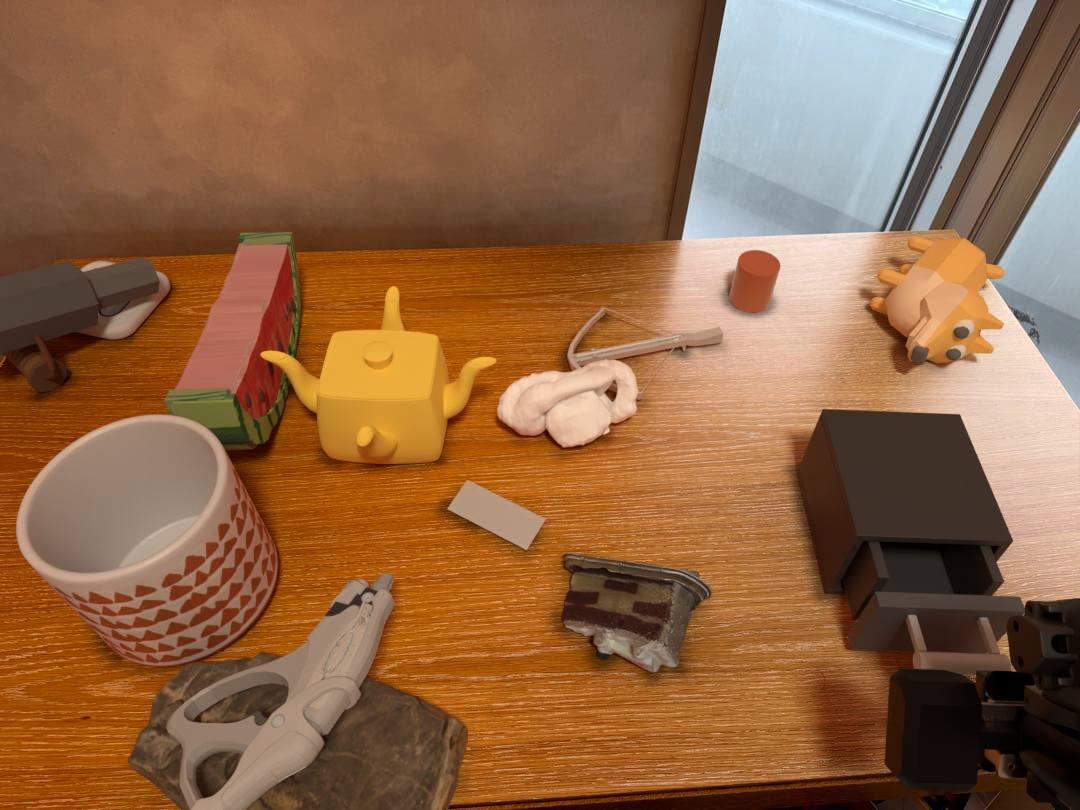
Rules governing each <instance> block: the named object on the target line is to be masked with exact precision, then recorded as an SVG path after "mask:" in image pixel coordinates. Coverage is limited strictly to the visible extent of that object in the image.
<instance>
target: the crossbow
mask: <svg viewBox="0 0 1080 810" xmlns="http://www.w3.org/2000/svg"><path fill="white" fill-rule="evenodd" d="M606 310H607V311H609V312H612V313H615V314H618V315H620V316H622V317H626V318H628V319H631V320H634V321H637V322H639V323H641V324H645V325H646V326H650V327H653V328H656V329H659V330H661V331H664V332H666V333H669V335H660V336H656V337H653V338H649V339H644V340H639V341H632V342H627V343H623V344H618V345H613V346H609V347H608V346H607V347H602V348H597V349H596V348H595V347H591V348H590V349H589V350H587V351H582V352H577V353H575V350H576V348H577V346H578V345H579V343H580V341H581V340H582V339H583V338H584V336H585V335H586V334H587V333H588V332H589V330H590V329H591V328H592V327H593V326H594V325H595V324H596V323H597V322H598V321H599V320H600V319H602V318H603V317H604V315H605V314H606ZM723 337H724V332H723V331H722V329H721V327H720V326H716V327H712V328H708V329H705V330H701V331H700V330H699V331H697V332H679V333H675V332H672V331H669V330H666V329H664V328H661V327H659V326H656V325H653V324H650V323H647V322H644V321H642V320H639V319H638V318H637V319H636V318H635V317H634V318H633V317H631V316H628V315H626V314H622V313H620V312H617V311H614V310H612V309H610V308H606V306H602V307H601V308H600V309H599V311H598V312H597V313H595V314H594V315H593V316H592V317H591V318H590V319H589V320H588V321H587V322H586V323H585V325H583V327H582V328H581V329H580V330H579V331H578V332H577V334H576V336H575V337H574V338H573V340H572V341H571V342H570V344H569V348H568V350H567V355H566V356H567V357H566V358H567V360H566V361H567V362H568V364H569V368H570V370H571V371H574V370H576V369H579V368H582V367H584V366H585V365H587V364H589V363H591V362H595V361H600V360H605V359H607V360H619V359H623V358H628V357H633V356H639V355H643V354H648V353H653V352H659V351H663V350H669V349H671V350H670V352H669V353H668V354H667V356H665V359H663V361H662V362H661V364H660V365H659V367H658V368H657V369H656V371H655V372H654V373H653V375H652V376H651V377H650V379H649V380H648V382H647V383H646V385H645V386H644V387H643V388H642V390H641V391H639V390H638V396H637V398H636V400H637V401H639V400H643V399H644V393H643V392H644V390H645V389H646V388H647V387H648V385H649V384H650V382H651V381H652V380H653V379H654V377H655V375H656V374H657V372H659V370H660V368H662V367H663V364H664V363H665V362H666V361H667V359H668V357H670V355H671V353H672V352H673V351H674V349H675V348H676V349H678V348H680V347H681V349H682V352H686V349H687V346H692V347H694V346H695V347H698V346H706V345H707V346H708V345H714V344H722V343H723ZM607 390H609V391H612V392H614V393H617V383H614V382H612V384H611V385H610V386H609V388H608V389H607Z"/></svg>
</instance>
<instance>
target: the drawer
mask: <svg viewBox="0 0 1080 810" xmlns="http://www.w3.org/2000/svg"><path fill="white" fill-rule="evenodd" d="M842 581H843V585H844V589H845V593H846V594H845V597H846V601H847V605H848V610H849V613H850V617H851V620H854V621H855V622H854V624H853V625H852V627H851V629H850V631H849V632H848V633H847V637H846V638H847V642H848V645H849V649H850V650H851V651H868V652H871V651H873V652H895V653H899V652H901V653H913V655H912V666H913V669H934V670H947V671H950V672H954V673H958V674H961V675H965V676H976V671H977V670H982V671H1012V664H1011V661H1010V657H1008V655H1007V654H1003V653H1002V654H1001V651H1000V648H999V645H998V642H999V641H1000V640H1001V639H1002V638H1003V637H1004V636H1005V635H1006V634H1007V629H1006V625H1007V622H1008V620H1009V618H1010V617H1011V616H1021V615H1022V616H1023V615H1024V614H1025V604H1024V603H1023V600H1022V597H1021V596H1012V595H1011V596H1010V595H994V594H996V592H997V591H998V590H999V589H1000V588H1001V587H1002V585H1003V584H1004V582H1005V579H1004V577H1003V574H1002V572H1001V569H1000V567H999V565H998V561H997V562H996V560H995V557H994V554H993V552H992V549H991V547H990V545H965V544H938V543H911V542H883V541H863V543H862V544H861V546H860V548H859V550H858V551H857V553H856V555H855V557H854V558H853V560H852V562H851V564H850V565H849V567H848V569H847V571H846V572H845V574H844V576H843V578H842Z"/></svg>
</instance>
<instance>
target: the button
mask: <svg viewBox="0 0 1080 810" xmlns="http://www.w3.org/2000/svg"><path fill="white" fill-rule="evenodd" d="M116 263H117V262H111V261H106V260H97V261H92V262H90V263H88V264H85V265H84V266H82V267H81V268H80V270H81V271H82V272H85V271H89V270H93V269H96V268H100V267H104V266H108V265H112V264H116ZM155 271H156V273H157V275H158V278H159V280H160V282H159V291H158V293H156V294H152V295H149V296H145V297H142V298H139V299H135V300H132V301H128V302H125V303H121V304H118V305H114V306H111V307H108V308H104V309H101V310H98V325H95V326H92V327H88V328H85V329H82V330H79V331H75V332H74V333H76V334H83V335H87V336H92V337H97V338H102V339H106V340H111V341H116V340H117V341H118V340H122V339H125V338H128V337H129V336H132V335H133V334H134V333H136V331H137V330H138V329H139V328H140V326H141V325H142V324H143V323H144V322H145V321H146V320H147V318H148V317H149V316H150V315H151V314H152V313H153V312H154V310H155V309H156V308H157V307H158V305H160V303H161V302H162V301H163V300H164V298H165V297H166V296H167V295H168V294H169V293H170V290H171V282H170V279H169V277H168V276H167V275H166V274H165V273H164V272H161V271H157V270H155Z"/></svg>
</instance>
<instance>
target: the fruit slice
mask: <svg viewBox="0 0 1080 810" xmlns="http://www.w3.org/2000/svg"><path fill="white" fill-rule="evenodd" d="M237 239H238V246H237V249H236V252H235V255H234V258H233V261H232V263H231V267H230V269H229V271H228V273H227V275H226V277H225V279H224V281H223V282H224V283H223V286H222V288H221V290H220V293H219V295H218V297H217V299H215V300H214V302H213V303H212V304H211V306H210V310H209V314H208V317H207V320H206V324H205V325H204V327H203V330H202V332H201V334H200V337H199V339H198V341H197V343H196V345H195V347H194V349H193V350H192V353H191V355H190V357H189V358H188V361H187V363H186V365H185V368H184V370H183V372H182V375H181V376H180V379H179V381H178V383H177V384H176V386H175V388H174V389H169V390H168V392H167V394H166V396H165V398H164V400H163V401H164V403H165V404H164V405H165V406H166V409H167V411H168V413H169V415H173V416H179V417H184V418H187V419H190V420H193V421H195V422H197V423H199V424H201V425H203V426H204V427H206V428H207V429H209V430H210V431H211V432H212V433H213V434H214V435H215V436H216V437H217V438H218V440H219V441H220V443H221V444H222V446H223V448H224V449H225V451H247V450H248V451H249V450H250V451H251V450H254V449H255V448H256V447H258V445H264V444H265V443H266V441H269V439H270V436H271V433H272V430H273V429H274V428H275V426H276V425H277V423H278V421H279V420H280V418H281V416H282V413H283V411H284V407H285V404H286V401H287V397H288V393H289V391H290V390H289V389H290V386H291V381H290V379H289V378H288V376H287V374H286V373H285V372H284V371H283V370H282V369H281V368H280V367H279V366H277V365H276V364H274V363H272V362H270V361H267V360H265V359H264V358H262V357H261V356H260V354H261V353H262V352H264V351H278V352H283V353H286V354H288V355H290V356H292V357H293V358H295V359H296V356H297V345H298V339H299V331H300V322H301V306H302V305H301V303H302V301H301V286H300V284H301V283H300V275H299V266H298V258H297V251H296V246H295V240H294V235H293V231H272V232H271V231H268V232H264V231H263V232H240V234H239V235H238V238H237Z"/></svg>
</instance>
